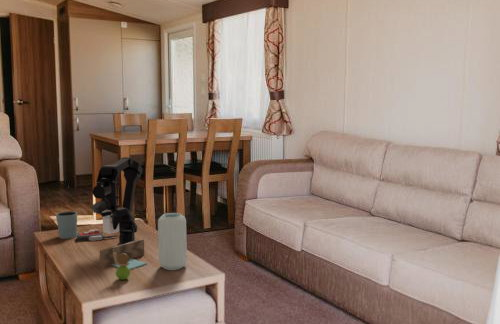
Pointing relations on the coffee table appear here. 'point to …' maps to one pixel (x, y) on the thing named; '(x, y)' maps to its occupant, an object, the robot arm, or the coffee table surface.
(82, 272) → the coffee table surface
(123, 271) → the snail figurine
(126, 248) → the walnut screen
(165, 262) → the vase
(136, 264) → the teal mat
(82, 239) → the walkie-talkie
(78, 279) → the coffee table surface
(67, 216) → the grey-blue cup
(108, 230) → the white rectangular block
